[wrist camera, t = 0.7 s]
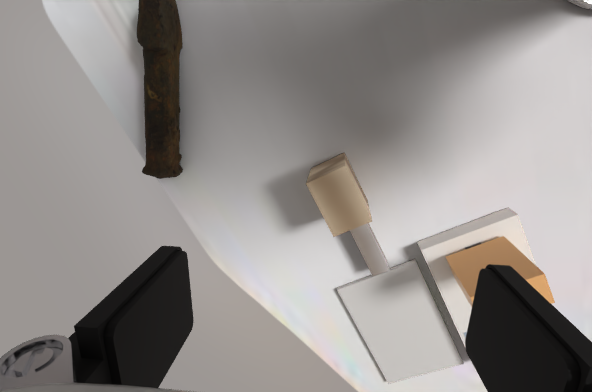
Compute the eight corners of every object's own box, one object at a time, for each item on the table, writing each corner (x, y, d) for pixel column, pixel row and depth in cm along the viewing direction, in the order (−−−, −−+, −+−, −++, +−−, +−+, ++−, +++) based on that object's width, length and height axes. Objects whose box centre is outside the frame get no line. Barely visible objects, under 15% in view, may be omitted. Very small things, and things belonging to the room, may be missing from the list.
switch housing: (508, 207, 35) (518, 214, 33) (555, 335, 39) (566, 348, 37) (416, 241, 37) (421, 250, 35) (470, 358, 42) (476, 372, 40)
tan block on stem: (344, 152, 35) (345, 165, 29) (395, 258, 38) (404, 288, 33) (311, 168, 36) (305, 183, 31) (363, 270, 39) (367, 300, 34)
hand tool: (187, 173, 38) (168, 185, 34) (155, 166, 39) (132, 177, 34) (199, -10, 32) (177, -24, 28) (160, -16, 32) (133, -32, 28)
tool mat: (414, 259, 38) (415, 261, 38) (462, 360, 42) (463, 363, 41) (336, 287, 41) (336, 290, 40) (387, 380, 44) (388, 383, 44)
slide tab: (503, 235, 33) (544, 273, 27) (512, 259, 34) (554, 302, 27) (445, 256, 35) (470, 297, 28) (455, 279, 36) (481, 324, 29)
